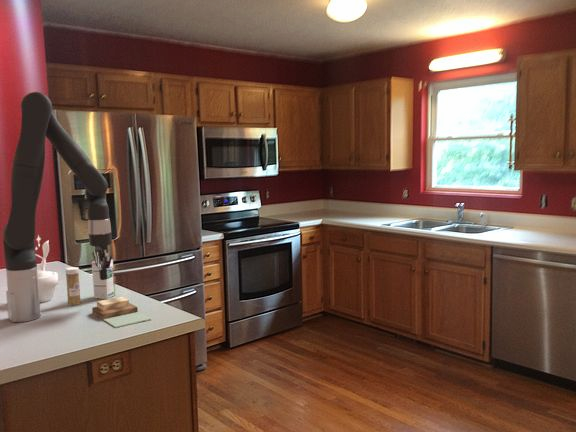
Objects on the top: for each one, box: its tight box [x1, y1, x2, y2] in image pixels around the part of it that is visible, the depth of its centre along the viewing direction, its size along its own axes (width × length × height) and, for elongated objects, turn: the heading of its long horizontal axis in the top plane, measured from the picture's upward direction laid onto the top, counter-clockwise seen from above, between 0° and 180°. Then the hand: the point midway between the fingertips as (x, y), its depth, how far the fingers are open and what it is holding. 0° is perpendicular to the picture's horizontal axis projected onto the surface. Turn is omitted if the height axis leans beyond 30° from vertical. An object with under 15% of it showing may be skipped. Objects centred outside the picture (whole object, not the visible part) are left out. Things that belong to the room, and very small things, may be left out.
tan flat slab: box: [91, 302, 139, 321], centre depth 182 cm, size 12×10×2 cm
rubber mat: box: [103, 311, 152, 329], centre depth 174 cm, size 12×10×1 cm
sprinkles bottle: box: [65, 266, 82, 306], centre depth 193 cm, size 5×5×14 cm
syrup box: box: [91, 258, 116, 300], centre depth 202 cm, size 6×6×14 cm
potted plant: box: [35, 234, 59, 303], centre depth 197 cm, size 13×12×25 cm
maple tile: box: [96, 296, 130, 311], centre depth 183 cm, size 9×6×2 cm, turn 130°
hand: (103, 279), depth 189 cm, fingers closed
